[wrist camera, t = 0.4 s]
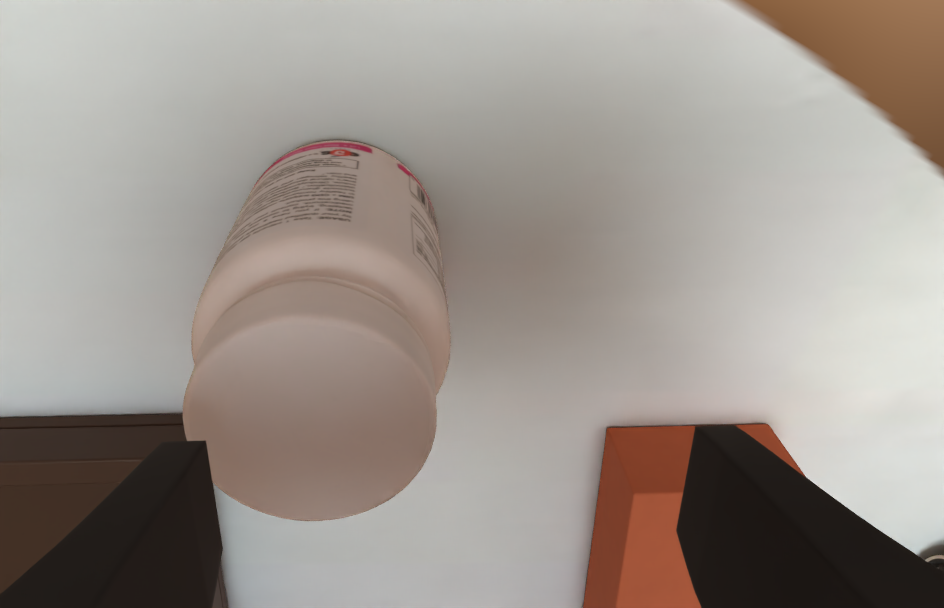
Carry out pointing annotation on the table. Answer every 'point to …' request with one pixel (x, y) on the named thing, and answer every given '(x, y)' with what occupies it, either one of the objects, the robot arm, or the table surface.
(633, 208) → the table surface
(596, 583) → the pad
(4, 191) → the table surface
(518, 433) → the table surface
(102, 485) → the dark brown tray
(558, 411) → the table surface
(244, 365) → the pill bottle
